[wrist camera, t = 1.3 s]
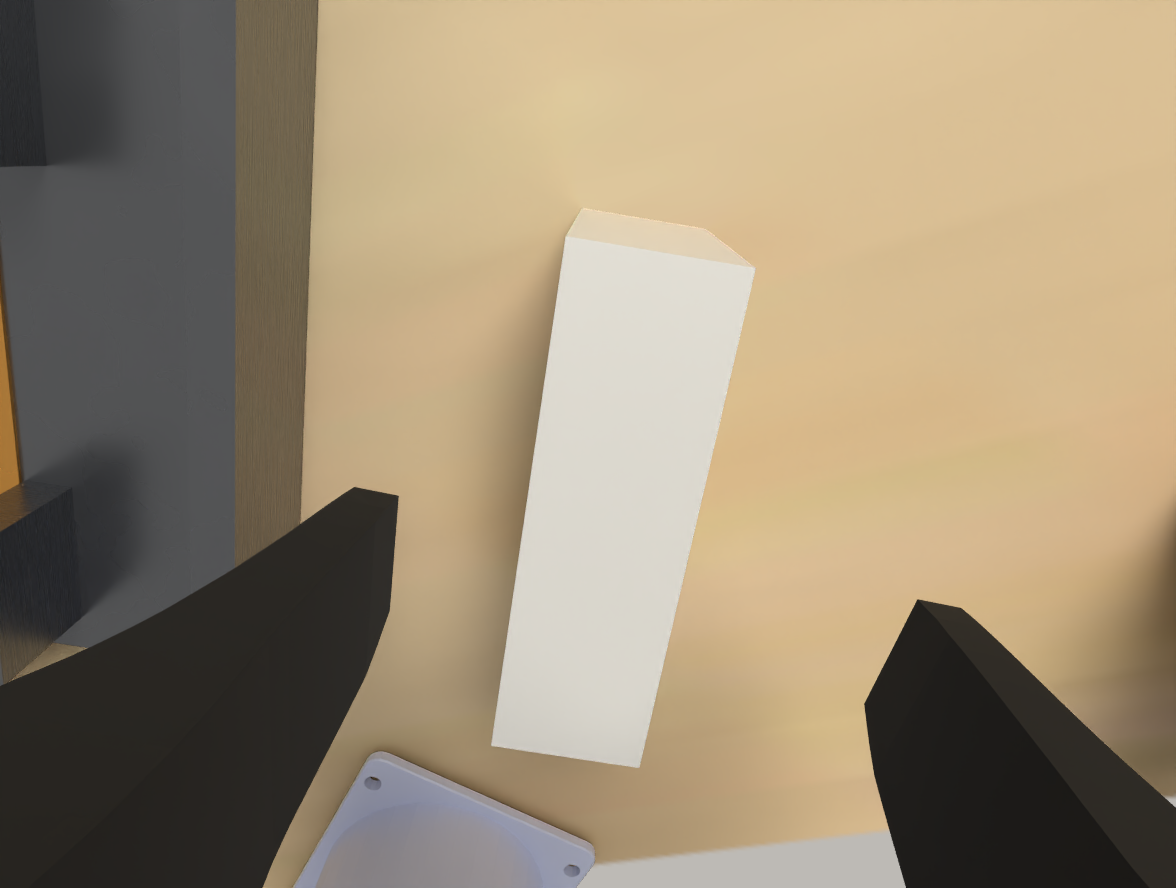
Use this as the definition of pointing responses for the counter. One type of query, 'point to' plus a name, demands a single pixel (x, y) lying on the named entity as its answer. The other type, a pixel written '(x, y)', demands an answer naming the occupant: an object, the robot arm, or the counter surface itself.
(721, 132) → the counter surface
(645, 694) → the white rectangular block
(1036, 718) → the robot arm
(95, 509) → the rack
